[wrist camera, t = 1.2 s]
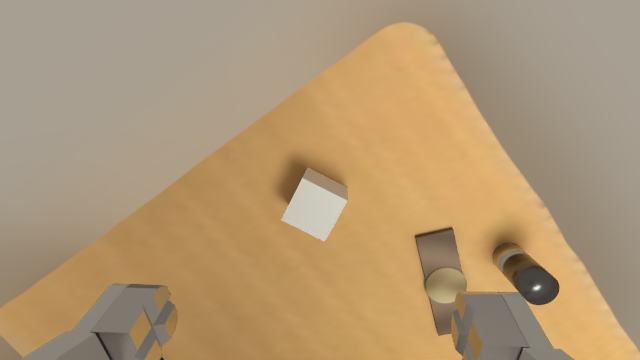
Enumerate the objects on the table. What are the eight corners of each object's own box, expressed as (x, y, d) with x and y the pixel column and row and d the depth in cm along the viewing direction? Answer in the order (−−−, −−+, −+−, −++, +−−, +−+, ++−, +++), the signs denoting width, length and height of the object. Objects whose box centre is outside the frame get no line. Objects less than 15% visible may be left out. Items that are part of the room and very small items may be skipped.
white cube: (327, 223, 47) (324, 242, 41) (288, 204, 46) (280, 220, 41) (347, 186, 45) (347, 200, 39) (307, 166, 45) (302, 177, 39)
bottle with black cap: (524, 266, 46) (561, 301, 38) (494, 272, 47) (524, 307, 39) (520, 240, 45) (557, 270, 37) (490, 246, 46) (520, 278, 38)
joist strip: (474, 326, 49) (476, 329, 48) (435, 333, 50) (437, 336, 49) (454, 227, 45) (456, 229, 45) (413, 236, 46) (414, 239, 45)
